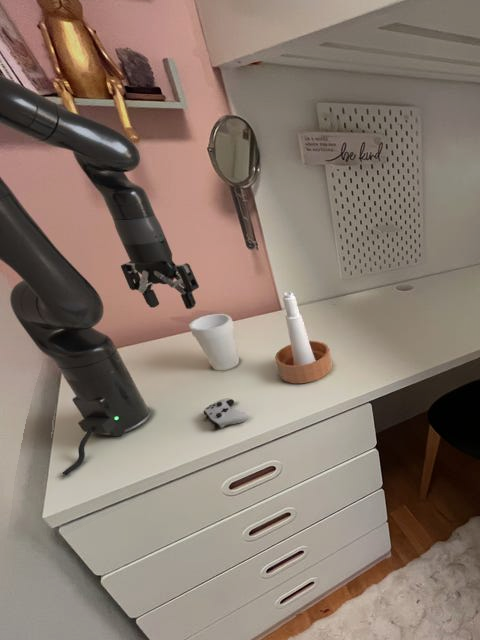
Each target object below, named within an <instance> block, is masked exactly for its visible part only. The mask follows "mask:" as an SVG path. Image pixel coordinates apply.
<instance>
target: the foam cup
mask: <svg viewBox="0 0 480 640" xmlns="http://www.w3.org/2000/svg"><path fill="white" fill-rule="evenodd" d="M188 327H189V330H190V332H191V334H192V336H193V337H194V338H195V339H196V341H197V342H198V344H199V346H200V348H201V350H202V352H203V353H204V355H205V357H206V358H207V360H208V361H209V363H210V366H212V368H213V370H215V371H227V370H231V369H233V368H235V367H236V366H238V365H239V363H240V359H239V358H240V357H239V353H238V346H237V341H236V333H235V329H234V328H235V325H234V322H233V319H232V317H231V316H230V315H229V314H226V313H213V314H207V315H203V316H199V317H197V318H195V319H194V320H192V321H191V322H190V323H189V325H188Z"/></svg>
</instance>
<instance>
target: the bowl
mask: <svg viewBox="0 0 480 640" xmlns="http://www.w3.org/2000/svg"><path fill="white" fill-rule="evenodd" d="M309 343H310V346H311V350H312V352H313V355H314V358H315V360H316V361H315V362H312V363H309V364H305V365H297V366H294V359H293V352H292V347H291V344H288V345H285V346H284V347H282V348H280V349H279V350H278V351H277V352H276V354H275V357H274V359H275V363H276V366H277V369H278V373H279V378H280V379H282V380H283V381H284V382H287V383H291V384H307V383H311V382H314V381H318V380H320V379H323V378H324V377H325V376H326V375H328V374H329V373H330V372H331V371H332V368H333V361H332V357H331V351H330V348H329V346H328V345H327V344H326V343H324V342H321V341H317V340H309Z"/></svg>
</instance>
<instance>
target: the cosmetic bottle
mask: <svg viewBox="0 0 480 640" xmlns="http://www.w3.org/2000/svg"><path fill="white" fill-rule="evenodd" d="M282 296H283V298H282V300H283V301H282V302H283V304H284V309H285V312H286V315H285V320H286V321H285V322H286V327H287V332H288V336H289V341H290V345H291V347H292V352H293V359H294V366H297V365H305V364H309V363H312V362H315V361H316V360H315V358H314V355H313V352H312V350H311V346H310V343H309V341H310V340H309V337H308V333H307V330H306V326H305V323H304V319H303V316H302V313H300V311H299V307H298V303H297V298H296V296H295V295H294V292H293V291H285V292H283V293H282Z"/></svg>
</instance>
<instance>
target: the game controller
mask: <svg viewBox="0 0 480 640" xmlns="http://www.w3.org/2000/svg"><path fill="white" fill-rule="evenodd" d="M233 405H235V400H234V399H233V398H230V397H226V398H222V399H220V400H217V401H215V402H213V403H212V404H210V405H208V406H207V407H205V408H204V410H203V414H204V416H205V417H206V419H209V422H210V423H211V424H212V425H214V429H215V430H218V429H222V428H224V427H225V426H228V425H233V424H234V425H235V424H241V423H243V422H246V421H247V420H248V418H249V416H248V414H247V413H245V412H244V411H240V410H237V409H233V408H232V407H233Z"/></svg>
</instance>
